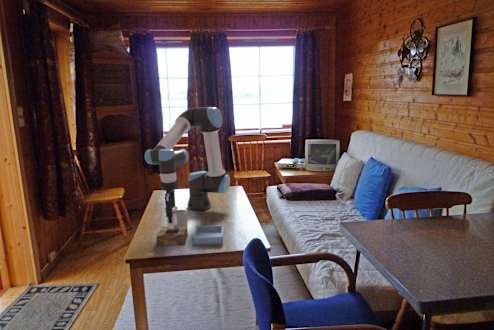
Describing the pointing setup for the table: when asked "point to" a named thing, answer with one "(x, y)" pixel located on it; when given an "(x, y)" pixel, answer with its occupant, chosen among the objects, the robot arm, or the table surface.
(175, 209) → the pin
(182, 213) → the cup
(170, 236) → the socket block
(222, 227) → the tray
